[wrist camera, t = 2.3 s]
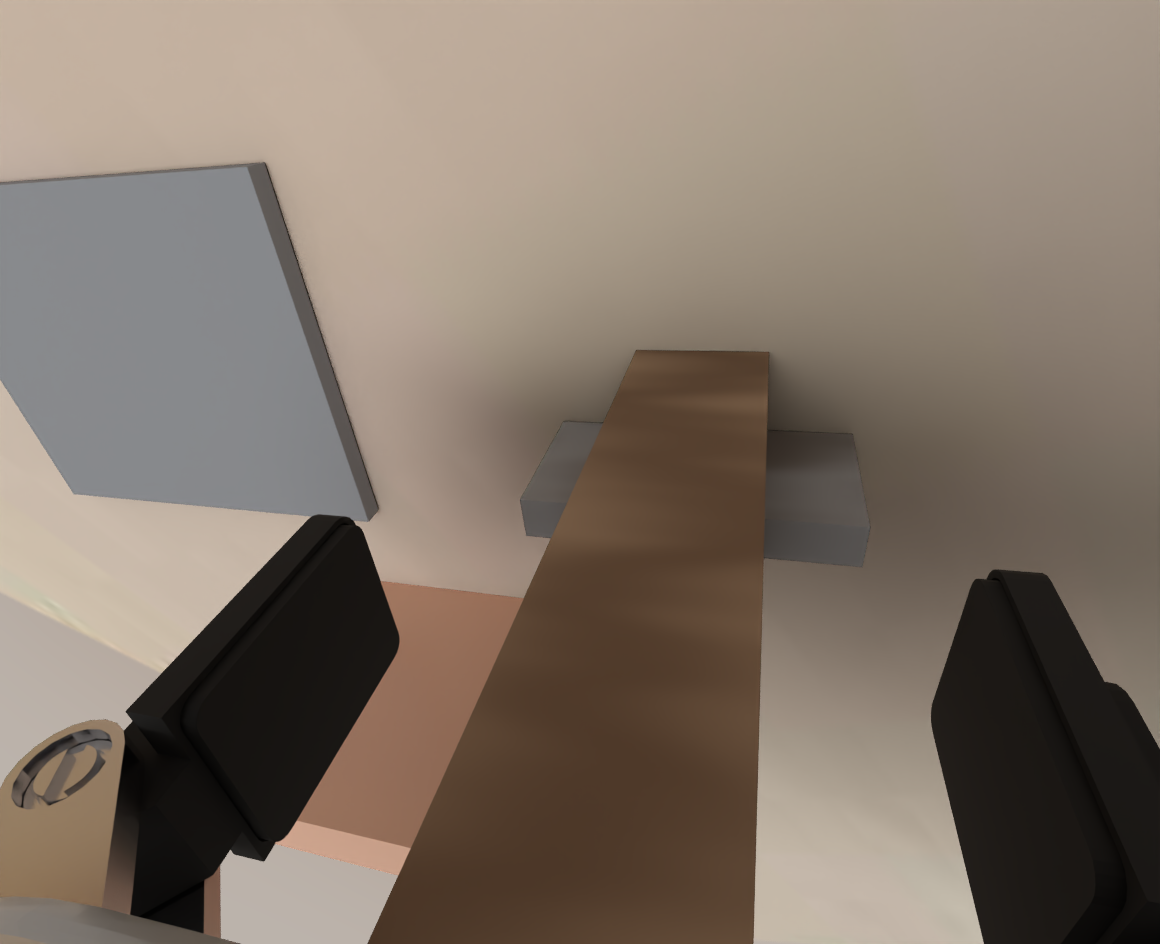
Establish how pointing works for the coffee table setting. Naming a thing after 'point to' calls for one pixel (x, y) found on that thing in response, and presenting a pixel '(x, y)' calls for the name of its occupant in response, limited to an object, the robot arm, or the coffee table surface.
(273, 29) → the coffee table surface
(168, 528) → the coffee table surface
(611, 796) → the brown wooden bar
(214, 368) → the mat
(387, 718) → the tile
